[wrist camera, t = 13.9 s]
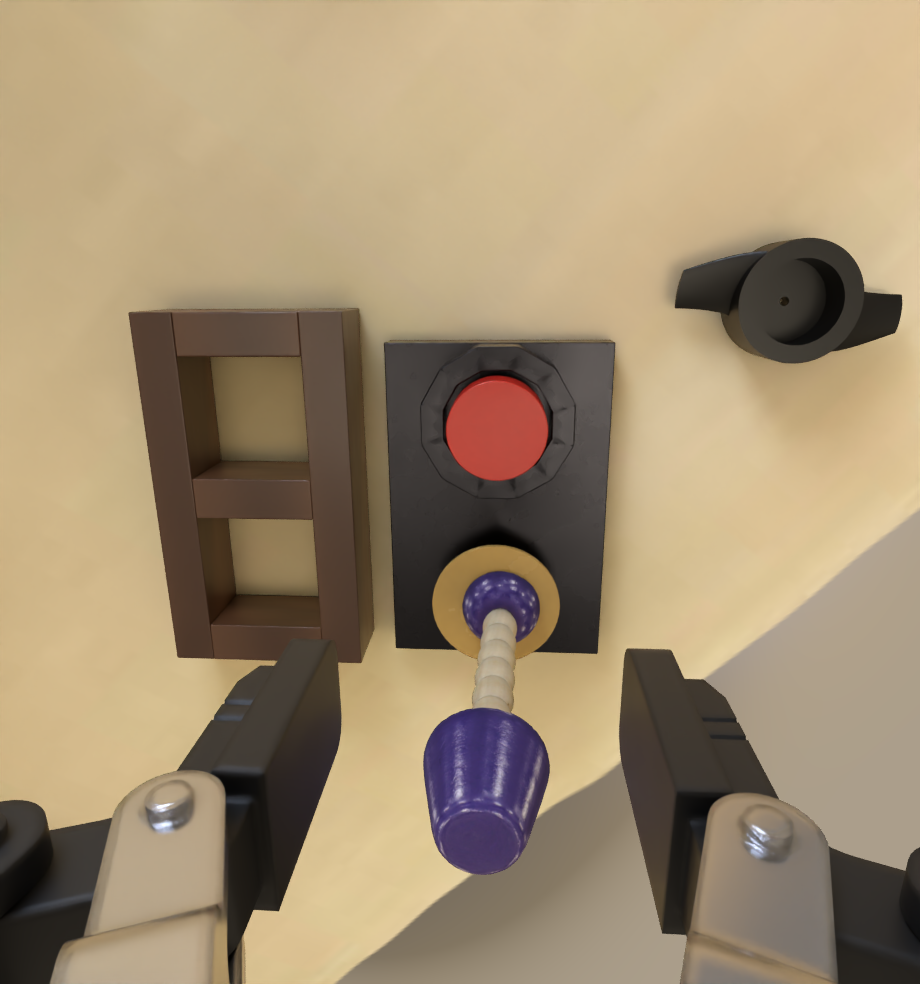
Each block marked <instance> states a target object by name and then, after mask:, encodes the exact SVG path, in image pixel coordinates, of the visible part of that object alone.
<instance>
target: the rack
mask: <svg viewBox="0 0 920 984" xmlns="http://www.w3.org/2000/svg"><path fill="white" fill-rule="evenodd" d="M129 320H130V327H131V334H132V341H133V348H134V355H135V362H136V369H137V376H138V383H139V390H140V397H141V404H142V411H143V418H144V425H145V432H146V439H147V446H148V453H149V460H150V467H151V474H152V481H153V488H154V495H155V502H156V509H157V516H158V523H159V530H160V537H161V544H162V551H163V558H164V565H165V572H166V579H167V586H168V593H169V600H170V607H171V614H172V621H173V628H174V635H175V642H176V649H177V656H178V657H179V658H211V659H213V658H215V659H240V660H274V661H278V660H279V658H280V656H281V655H282V653H283V651H284V650H285V648H286V647H287V645H288V643H289V642H290V640H292V639H324V640H334V641H335V644H336V647H337V656H338V662H342V663H361V662H362V660H363V657H364V655H365V652H366V649H367V647H368V644H369V642H370V639H371V637H372V634H373V631H374V613H373V592H372V571H371V551H370V530H369V509H368V489H367V468H366V447H365V427H364V406H363V385H362V365H361V344H360V324H359V309H358V308H352V309H169V310H153V311H139V312H129ZM300 356H301V361H302V375H303V388H304V402H305V416H306V429H307V443H308V456H309V462H281V461H221V454H220V445H219V436H218V427H217V418H216V409H215V401H214V392H213V383H212V374H211V365H210V357H300ZM228 518H236V519H301V520H313V524H314V538H315V552H316V565H317V579H318V592H319V597H312V596H269V595H236V588H235V580H234V571H233V562H232V553H231V544H230V535H229V526H228Z"/></svg>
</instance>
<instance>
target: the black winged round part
mask: <svg viewBox="0 0 920 984" xmlns="http://www.w3.org/2000/svg"><path fill="white" fill-rule="evenodd" d="M781 298H782V299H783V301H782V303H781V304H780V299H781ZM675 308H687V309H701V310H709V311H714V312H720V313H721V316H722V321H723V324H724V327H725V329H726V331H727V333H728V335H729V336H730V338H731V339H732V340H733V341H734V342H735V343H736V344H737V345H738V346H739V347H740V348H742V349H743V350H745V351H747V352H749V353H751V354H753V355H757V356H760V357H764V358H767V359H771V360H774V361H778V362H782V363H803V362H808V361H812V360H815V359H818V358H820V357H822V356H824V355H826V354H828V353H829V352H831V351H838V350H843V349H847V348H851V347H854V346H858V345H861V344H864V343H867V342H870V341H873V340H876V339H879V338H882V337H885V336H887V335H890V334H893V333H895V332H896V330H897V327H898V324H899V321H900V316H901V310H902V295H897V294H877V293H868V292H864V283H863V278H862V274H861V272H860V269H859V267H858V265H857V263H856V262H855V260H854V259H853V258H852V256H851V255H850V254H849V253H848V252H847V251H846V250H844V249H843V248H842V247H840V246H838V245H837V244H835V243H833V242H830V241H827V240H823V239H818V238H802V239H796V240H789V241H783V242H777V243H772V244H768V245H765V246H763V247H760V248H758V249H756V250H755V251H753V252H749V253H743V254H738V255H734V256H729V257H726V258H722V259H718V260H715V261H711V262H708V263H705V264H701V265H698V266H695V267H692V268H689V269H686V270H684V271H683V273H682V276H681V279H680V282H679V286H678V290H677V295H676V301H675Z"/></svg>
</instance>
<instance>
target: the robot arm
mask: <svg viewBox="0 0 920 984" xmlns="http://www.w3.org/2000/svg"><path fill="white" fill-rule="evenodd" d="M340 734H341V701H340V686H339V671H338V656H337V647H336V644H335V641H334V640H324V639H292V640H290V642H289V643H288V645H287V647H286V648H285V650H284V651H283V653H282V655H281V656H280V658H279V660H278V661H277V663H276V665H275V666H259V667H258V668H256V669H255V670H253V671H252V672H250V673H249V674H248V675H246V676H245V677H243V678H242V679H241V680H239V681H238V682H237V683H236V685H235V686H234V688H233V689H232V691H231V692H230V694H229V695H228V696H227V698H226V699H225V704H222V705H221V707H220V708H219V710H218V711H217V713H216V714H215V716H214V720H211V721H210V723H209V724H208V726H207V727H206V729H205V730H204V732H203V733H202V735H201V736H200V738H199V739H198V740H197V742H196V743H195V745H194V746H193V748H192V749H191V751H190V752H189V754H188V755H187V757H186V758H185V760H184V761H183V762H182V764H181V765H180V767H179V768H178V770H177V771H175V772H171V773H167V774H163V775H160V776H158V777H155V778H153V779H151V780H148V781H146V782H145V783H143V784H141V785H139V786H138V787H137V788H135V789H134V790H132V791H131V792H130V793H129V794H128V795H127V796H125V797H124V799H123V800H122V801H121V802H120V803H119V805H118V806H117V808H116V810H115V811H114V814H113V817H112V818H109V819H105V820H101V821H96V822H91V823H86V824H81V825H76V826H70V827H65V828H60V829H55V830H50V831H49V828H48V823H47V819H46V815H45V812H44V810H43V809H42V808H41V807H40V806H39V805H37V804H35V803H32V802H29V801H23V800H11V801H2V802H0V984H246V974H245V944H244V936H243V934H244V932H245V929H246V927H247V924H248V922H249V919H250V917H251V914H252V912H253V910H267V911H279V909H280V906H281V904H282V901H283V898H284V895H285V893H286V890H287V887H288V884H289V882H290V879H291V876H292V874H293V871H294V868H295V865H296V863H297V860H298V857H299V854H300V852H301V849H302V846H303V843H304V841H305V838H306V835H307V833H308V830H309V827H310V824H311V822H312V819H313V816H314V813H315V811H316V808H317V805H318V802H319V800H320V797H321V794H322V792H323V789H324V786H325V783H326V781H327V778H328V775H329V772H330V770H331V767H332V764H333V762H334V759H335V756H336V753H337V750H338V746H339V741H340ZM619 742H620V754H621V762H622V766H623V770H624V775H625V779H626V783H627V787H628V792H629V796H630V800H631V804H632V808H633V813H634V817H635V821H636V825H637V829H638V833H639V837H640V842H641V846H642V850H643V855H644V859H645V863H646V867H647V871H648V876H649V879H650V884H651V888H652V892H653V896H654V901H655V905H656V909H657V913H658V918H659V922H660V926H661V930H662V933H664V934H681V935H686V936H687V942H686V948H685V954H684V960H683V967H682V973H681V979H680V984H920V848H918V849H916V850H915V851H914V852H913V853H912V854H911V855H910V857H909V859H908V863H907V867H906V871H903V870H900V869H897V868H893V867H889V866H886V865H882V864H879V863H875V862H871V861H868V860H864V859H861V858H857V857H854V856H851V855H848V854H845V853H843V852H840V851H838V850H835V849H832V848H831V847H829V846H828V842H827V840H826V838H825V835H824V834H823V833H822V831H821V829H820V828H819V827H818V826H817V825H816V824H815V822H814V821H813V820H811V819H810V818H809V817H808V816H807V815H805V814H804V813H803V812H801V811H800V810H799V809H797V808H795V807H794V806H792V805H790V804H788V803H786V802H783V801H781V800H779V798H778V796H777V795H776V793H775V791H774V789H773V787H772V785H771V783H770V781H769V779H768V777H767V775H766V773H765V772H764V770H763V768H762V766H761V764H760V762H759V760H758V759H757V757H756V755H755V753H754V751H753V749H752V747H751V745H750V743H749V741H748V740H746V736H745V734H744V732H743V730H742V728H741V726H740V724H739V723H737V721H736V717H735V715H734V713H733V711H732V709H731V707H730V705H729V704H728V702H727V700H726V698H725V697H724V696H723V695H722V694H720V693H719V692H718V691H717V690H716V689H714V688H713V687H712V686H711V685H709V684H708V683H707V682H706V681H705V680H699V679H684V677H683V675H682V673H681V671H680V668H679V666H678V664H677V662H676V659H675V657H674V655H673V653H672V651H671V650H665V649H629V648H628V649H627V650H626V652H625V657H624V668H623V682H622V696H621V710H620V725H619Z"/></svg>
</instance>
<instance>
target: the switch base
mask: <svg viewBox="0 0 920 984" xmlns="http://www.w3.org/2000/svg"><path fill="white" fill-rule="evenodd" d="M384 352H385V378H386V404H387V430H388V456H389V481H390V507H391V533H392V559H393V585H394V611H395V637H396V648H410V649H446V650H457V649H456V648H455V647H454V646H452V645H451V644H450V643H449V642H448V641H447V640H446V639H445V637H444V636H443V635H442V633H441V632H440V630H439V628H438V626H437V624H436V621H435V618H434V614H433V607H432V600H433V592H434V588H435V585H436V582H437V580H438V578H439V576H440V574H441V572H442V571H443V569H444V568H445V567H446V566H447V565H448V564H449V563H450V562H451V561H452V560H453V559H454V558H455V557H457V556H458V555H460V554H462V553H463V552H465V551H468V550H470V549H472V548H476V547H479V546H485V545H506V546H511V547H515V548H518V549H521V550H523V551H525V552H527V553H529V554H531V555H532V556H534V557H535V558H536V559H538V560H539V561H540V562H541V563H542V564H543V565H544V566H545V567H546V568H547V569H548V571H549V572H550V574H551V575H552V577H553V579H554V581H555V583H556V586H557V589H558V593H559V599H560V610H559V617H558V621H557V623H556V626H555V628H554V630H553V632H552V634H551V635H550V637H549V638H548V639H547V640H546V642H545V643H544V644H542V645H541V646H540V647H539V648H538V649H536V650H535V651H534V652H554V653H589V654H597V653H598V637H599V620H600V602H601V585H602V568H603V550H604V533H605V515H606V498H607V481H608V463H609V446H610V428H611V411H612V393H613V376H614V359H615V342H613V341H611V340H390V341H388V342H386V343H384ZM495 375H501V376H508V377H512V378H515V379H518V380H520V381H522V382H523V383H525V384H526V385H528V386H529V387H530V388H531V389H532V390H533V391H534V392H535V393H536V394H537V396H538V397H539V399H540V401H541V403H542V405H543V407H544V411H545V414H546V417H547V422H548V439H547V443H546V447H545V449H544V452H543V454H542V455H541V457H540V459H539V460H538V461H537V463H536V464H535V465H534V466H533V467H532V468H531V469H529V470H528V471H527V472H525V473H524V474H522V475H520V476H518V477H515V478H512V479H509V480H503V481H491V480H486V479H482V478H479V477H476V476H474V475H472V474H470V473H469V472H467V471H466V470H465V469H464V468H462V467H461V466H460V465H459V464H458V462H457V461H456V460H455V458H454V457H453V455H452V453H451V451H450V449H449V446H448V443H447V438H446V423H447V418H448V415H449V412H450V410H451V408H452V406H453V403H454V401H455V399H456V398H457V396H458V395H459V394H460V393H461V391H462V390H463V389H464V388H465V387H467V386H468V385H469V384H471V383H472V382H474V381H476V380H478V379H480V378H483V377H487V376H495Z"/></svg>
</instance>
